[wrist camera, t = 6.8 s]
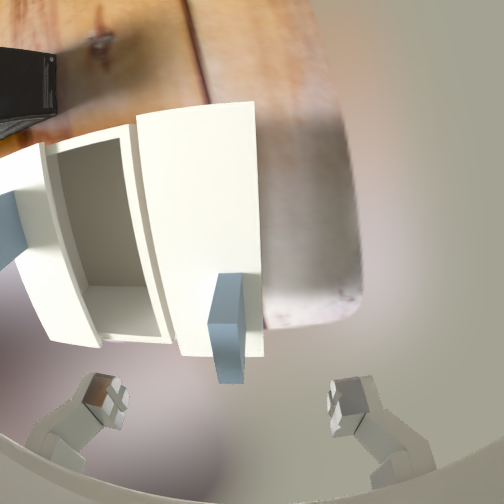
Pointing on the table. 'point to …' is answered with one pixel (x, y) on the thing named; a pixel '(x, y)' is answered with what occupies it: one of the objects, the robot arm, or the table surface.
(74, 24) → the table surface
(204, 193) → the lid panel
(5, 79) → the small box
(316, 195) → the table surface
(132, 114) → the table surface
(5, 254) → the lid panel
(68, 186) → the carton
